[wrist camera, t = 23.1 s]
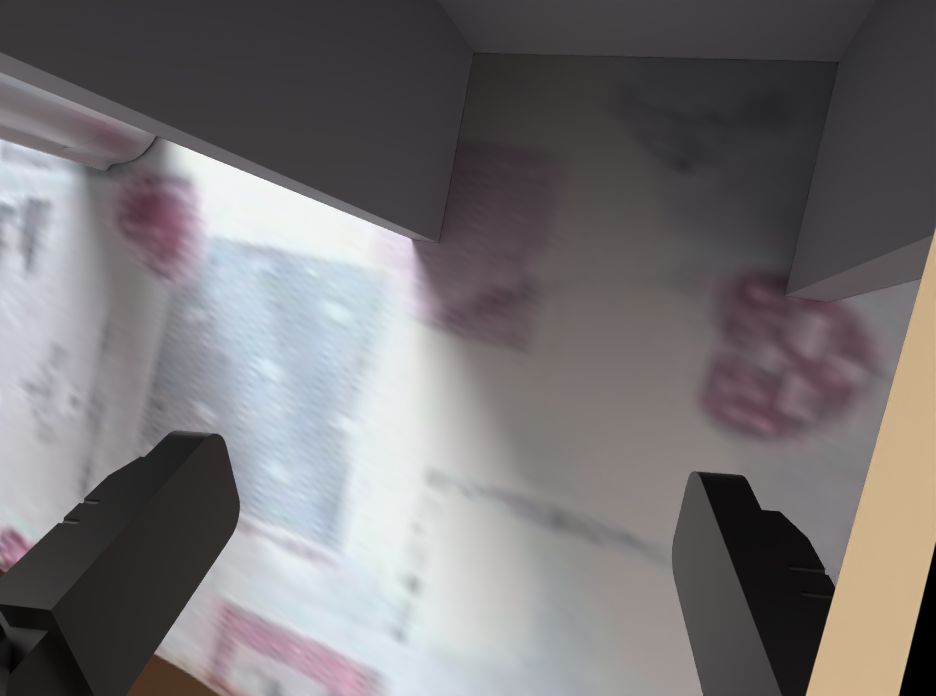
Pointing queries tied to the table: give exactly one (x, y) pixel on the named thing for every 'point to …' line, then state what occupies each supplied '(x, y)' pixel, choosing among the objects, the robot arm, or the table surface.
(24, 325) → the table surface
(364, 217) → the gray shelf
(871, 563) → the wooden rod
